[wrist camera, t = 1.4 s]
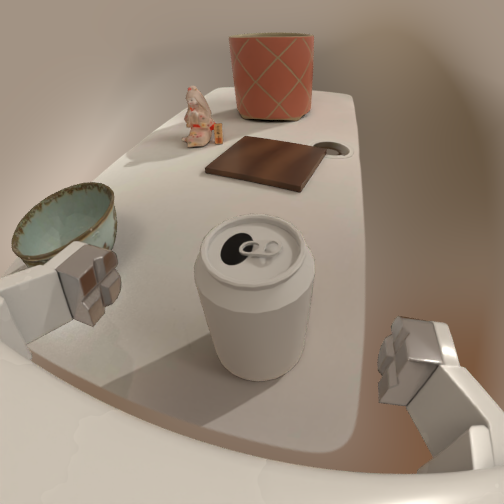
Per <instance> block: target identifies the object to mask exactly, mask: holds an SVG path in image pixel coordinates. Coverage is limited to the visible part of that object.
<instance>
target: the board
mask: <svg viewBox="0 0 504 504" xmlns="http://www.w3.org/2000/svg"><path fill="white" fill-rule="evenodd" d="M325 155H326V149H323V148H318V147H313V146H307V145H302V144H296V143H290V142H284V141H278V140H271V139H264V138H257V137H250V136H244V137H243V138H242V139H241V140H239V141H238V142H237V143H235V144H234V145H233V146H232V147H230V148H229V149H228V150H226V151H225V152H224V153H223V154H221V155H220V156H219V157H218V158H216V159H215V160H214V161H213V162H211V163H210V164H209V165H208V166H207V167H205V171H206V173H209V174H215V175H220V176H225V177H231V178H236V179H241V180H246V181H251V182H256V183H261V184H265V185H270V186H275V187H279V188H284V189H288V190H293V191H297V192H301V191H302V190H303V188H304V187H305V185H306V184H307V182H308V181H309V179H310V178H311V176H312V175H313V173H314V172H315V170H316V169H317V167H318V165H319V164H320V162H321V161H322V159H323V158H324V156H325Z"/></svg>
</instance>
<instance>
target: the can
mask: <svg viewBox="0 0 504 504" xmlns="http://www.w3.org/2000/svg"><path fill="white" fill-rule="evenodd" d="M194 276H195V283H196V286H197V290H198V293H199V297H200V300H201V304H202V307H203V311H204V314H205V317H206V321H207V324H208V327H209V331H210V334H211V337H212V340H213V343H214V347H215V350H216V353H217V356H218V357H219V359H220V361H221V363H222V365H223V366H224V367H225V368H226V369H228V370H229V371H230V372H231V373H232V374H233V375H236V376H238V377H240V378H243V379H245V380H251V381H266V380H271V379H276V378H278V377H280V376H282V375H283V374H285V373H287V372H289V371H290V370H291V369H292V368H293V367H294V366H295V365H296V363H297V362H298V361H299V359H300V356H301V354H302V352H303V348H304V342H305V336H306V330H307V324H308V318H309V311H310V304H311V297H312V290H313V283H314V276H315V260H314V257H313V255H312V253H311V251H310V249H309V247H308V246H307V245H306V242H305V239H304V237H303V235H302V233H301V232H300V231H299V230H298V229H297V228H296V227H295V226H294V225H293V224H291V223H289V222H287V221H285V220H283V219H281V218H279V217H275V216H271V215H267V214H247V215H241V216H236V217H233V218H231V219H228V220H225V221H223V222H222V223H220V224H218V225H217V226H215V227H214V228H212V229H211V230H210V232H209V233H208V234H207V235H206V236H205V237H204V239H203V242H202V244H201V247H200V252H199V254H198V256H197V259H196V262H195V265H194Z"/></svg>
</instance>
